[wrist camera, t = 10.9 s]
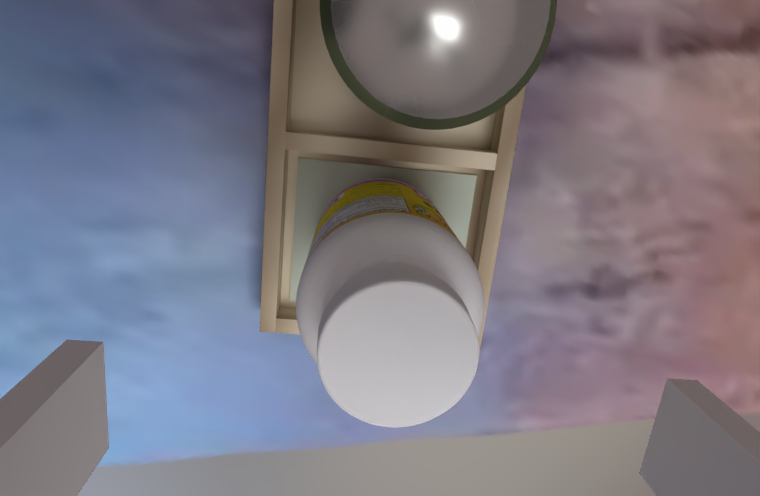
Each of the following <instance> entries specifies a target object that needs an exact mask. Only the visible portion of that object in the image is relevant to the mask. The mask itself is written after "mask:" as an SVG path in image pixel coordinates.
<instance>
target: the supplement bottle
mask: <svg viewBox="0 0 760 496" xmlns="http://www.w3.org/2000/svg"><path fill="white" fill-rule="evenodd" d="M484 305H485V304H484V290H483V286H482V282H481V278H480V275H479V272H478V270H477V267H476V265H475V263H474V261H473V260H472V258H471V257H470V255H469V253H468V252H467V250H466V249H465V247H464V246H463V245H462V243H461V242H460V241H459V239H458V238H457V236H456V235H455V234H454V232H453V231H452V229H451V228H450V226H449V225H448V224H447V222H446V221H445V219H444V218H443V216H442V215H441V214H440V212H439V211H438V209H437V208H436V207H435V206H434V204H433V203H432V202H431V201H430V200H429V199H428V198H427V197H426V196H425V195H424V194H423V193H421V192H420V191H419V190H417V189H416V188H414V187H413V186H411V185H408V184H406V183H404V182H401V181H398V180H393V179H384V178H381V179H369V180H365V181H362V182H358V183H356V184H353V185H351V186H349V187H347V188H346V189H344V190H343V191H341V192H340V193H339V194H337V195H336V196H335V197H334V198H333V199H332V200H331V202H330V203H329V204H328V205H327V207H326V208H325V210H324V211H323V213H322V215H321V217H320V219H319V222H318V225H317V227H316V231H315V234H314V237H313V240H312V244H311V246H310V250H309V253H308V257H307V260H306V263H305V266H304V268H303V271H302V274H301V278H300V281H299V285H298V289H297V296H296V317H297V323H298V328H299V332H300V335H301V338H302V340H303V342H304V345H305V347H306V349H307V350H308V352H309V354H310V355H311V356H312V358H313V359H314V361H315V362H316V363H317V366H318V370H319V375H320V378H321V380H322V382H323V385H324V387H325V389H326V390H327V392H328V394H329V395H330V396H331V398H332V399H333V400H334V401H335V402H336V403H337V404H338V405H339V406H340V407H341V408H342V409H343V410H345V411H346V412H347V413H349V414H350V415H352V416H354V417H356V418H358V419H360V420H362V421H364V422H367V423H370V424H373V425H378V426H384V427H406V426H412V425H417V424H420V423H424V422H426V421H429V420H431V419H433V418H435V417H437V416H439V415H441V414H442V413H444V412H446V411H447V410H448V409H450V408H451V407H452V406H454V405H455V404H456V403H457V402H458V401H459V400H460V399H461V397H462V396H463V395H464V394H465V392H466V391H467V389H468V388H469V386H470V384H471V382H472V381H473V378H474V376H475V374H476V370H477V366H478V361H479V341H478V336H479V333H480V330H481V327H482V322H483V317H484Z"/></svg>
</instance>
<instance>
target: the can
mask: <svg viewBox="0 0 760 496" xmlns="http://www.w3.org/2000/svg"><path fill="white" fill-rule="evenodd" d="M556 6H557V0H320V19H321V27H322V32H323V36H324V40H325V44H326V47H327V50H328V52H329V55H330V58H331V60H332V62H333V64H334V66H335V68H336V70H337V71H338V73H339V75H340V76H341V78H342V79H343V81H344V82H345V84H346V85H347V86H348V88H349V89H350V90H351V91H352V92H353V93H354V94H355V95H356V96H357V98H358V99H360V100H361V101H362V102H363V103H364V104H365V105H367V106H368V107H369V108H370V109H372V110H373V111H375V112H376V113H378V114H379V115H381V116H383V117H385V118H387V119H389V120H391V121H393V122H395V123H399V124H402V125H405V126H408V127H413V128H418V129H425V130H443V129H453V128H457V127H462V126H466V125H469V124H472V123H474V122H477V121H480V120H482V119H484V118H486V117H488V116H489V115H491V114H493V113H495V112H496V111H498V110H499V109H500V108H502V107H503V106H505V105H506V104H507V103H508V102H510V101H511V100H512V99H513V98H514V97H515V96H516V95H517V94H518V93H519V92H520V91H521V90H522V89H523V87H524V86H525V85H526V84H527V83H528V82H529V80H530V79H531V77H532V76H533V74H534V73H535V71H536V70H537V68H538V66H539V64H540V62H541V60H542V58H543V56H544V54H545V52H546V49H547V47H548V44H549V41H550V39H551V34H552V30H553V26H554V22H555V14H556Z"/></svg>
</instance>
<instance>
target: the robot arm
mask: <svg viewBox="0 0 760 496" xmlns="http://www.w3.org/2000/svg"><path fill="white" fill-rule="evenodd" d="M108 448H109V440H108V421H107V402H106V383H105V364H104V345H103V342H94V341H79V340H66V341H65V342H64V343H63V344H62V345H61V346H59V347H58V348H57V349H56V350H55V351H54V352H53V353H52V354H50V355H49V356H48V357H47V358H46V359H45V360H44V361H43V362H41V363H40V364H39V365H38V366H37V367H36V368H35V369H34V370H32V371H31V372H30V373H29V374H28V375H27V376H26V377H25V378H23V379H22V380H21V381H20V382H19V383H18V384H17V385H16V386H14V387H13V388H12V389H11V390H10V391H9V392H8V393H7V394H5V395H4V396H3V397H2V398H1V399H0V496H77V495H78V493H79V492H80V490H81V489H82V487H83V486H84V484H85V483H86V481H87V480H88V478H89V477H90V475H91V474H92V472H93V471H94V469H95V468H96V466H97V465H98V463H99V462H100V460H101V459H102V457H103V456H104V454H105V453H106V451H107V450H108ZM639 473H640V475H641V476H642V477H643V479H644V480H645V481H646V483H647V484H648V485H649V487H650V488H651V489H652V490H653V492H654V493H655V494H656V496H760V433H759V432H758V431H757V430H756V429H755V428H753V426H751V425H750V424H749V423H747V422H746V421H745V420H744V419H743V418H742V417H741V416H739V415H738V414H737V413H736V412H734V411H733V410H732V409H731V408H730V407H728V406H727V405H726V404H725V403H724V402H722V401H721V400H720V399H719V398H718V397H716V396H715V395H714V394H713V393H712V392H710V391H709V390H708V389H707V388H706V387H704V386H703V385H702V384H701V383H700V382H698V381H697V380H683V379H668V378H667V381H666V385H665V388H664V391H663V395H662V398H661V402H660V405H659V408H658V412H657V415H656V418H655V422H654V425H653V429H652V432H651V435H650V439H649V442H648V446H647V449H646V452H645V456H644V459H643V462H642V466H641V469H640V472H639Z"/></svg>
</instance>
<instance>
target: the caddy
mask: <svg viewBox="0 0 760 496" xmlns="http://www.w3.org/2000/svg"><path fill="white" fill-rule="evenodd" d="M525 89H526V85H525V86H524V87H523V89H522V90H521V91H520V92H519V93H518V94H517V95H516V96H515V97H514V98H513V99H512V100H511V101H510V102H508V103H507V104H506V105H505V106H503V107H502V108H500V109H499V110H498V111H496V112H495V113H493V114H491V115H489V116H488V117H486V118H484V119H482V120H480V121H477V122H474V123H472V124H469V125H466V126H462V127H457V128H453V129H443V130H425V129H418V128H413V127H408V126H405V125H402V124H399V123H395V122H393V121H391V120H389V119H387V118H385V117H383V116H381V115H379V114H378V113H376V112H375V111H373V110H372V109H370V108H369V107H368V106H367V105H365V104H364V103H363V102H362V101H361V100H360V99H358V98H357V96H356V95H355V94H354V93H353V92H352V91H351V90H350V89H349V88H348V86H347V85H346V84H345V82H344V81H343V79H342V78H341V76H340V75H339V73H338V71H337V70H336V68H335V66H334V64H333V62H332V60H331V58H330V55H329V52H328V50H327V47H326V44H325V40H324V36H323V32H322V27H321V19H320V0H274V11H273V34H272V57H271V80H270V103H269V126H268V150H267V173H266V196H265V219H264V242H263V265H262V288H261V311H260V331H261V332H274V333H287V334H300V332H299V328H298V323H297V317H296V296H297V289H298V285H299V281H300V278H301V274H302V271H303V268H304V266H305V263H306V260H307V257H308V253H309V250H310V246H311V244H312V240H313V237H314V234H315V231H316V227H317V225H318V222H319V219H320V217H321V215H322V213H323V211H324V210H325V208H326V207H327V205H328V204H329V203H330V202H331V200H332V199H333V198H334V197H335V196H336V195H337V194H339V193H340V192H341V191H343V190H344V189H346V188H347V187H349V186H351V185H353V184H356V183H358V182H362V181H365V180H369V179H381V178H384V179H393V180H398V181H401V182H404V183H406V184H408V185H411V186H413V187H414V188H416V189H417V190H419V191H420V192H421V193H423V194H424V195H425V196H426V197H427V198H428V199H429V200H430V201H431V202H432V203H433V204H434V206H435V207H436V208H437V209H438V211H439V212H440V214H441V215H442V216H443V218H444V219H445V221H446V222H447V224H448V225H449V226H450V228H451V229H452V231H453V232H454V234H455V235H456V236H457V238H458V239H459V241H460V242H461V243H462V245H463V246H464V247H465V249H466V250H467V252H468V253H469V255H470V257H471V258H472V260H473V261H474V263H475V265H476V267H477V270H478V272H479V275H480V278H481V282H482V286H483V290H484V304H485V305H484V317H483V322H482V327H481V330H480V333H479V336H478V341H479V348H480V346H481V341H482V335H483V329H484V324H485V318H486V312H487V306H488V301H489V295H490V289H491V284H492V278H493V272H494V266H495V261H496V255H497V249H498V244H499V238H500V232H501V226H502V221H503V215H504V209H505V204H506V198H507V192H508V186H509V181H510V175H511V169H512V164H513V158H514V152H515V146H516V141H517V135H518V129H519V124H520V118H521V112H522V106H523V101H524V95H525Z"/></svg>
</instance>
